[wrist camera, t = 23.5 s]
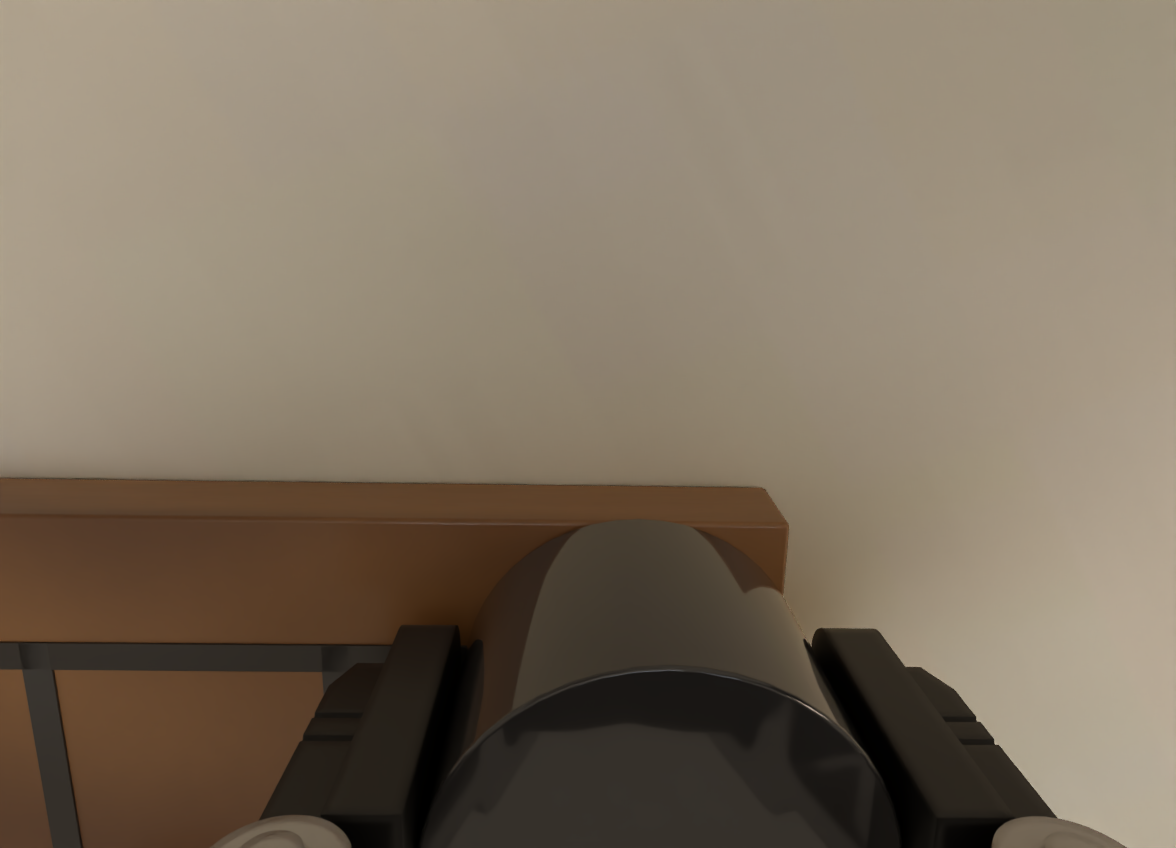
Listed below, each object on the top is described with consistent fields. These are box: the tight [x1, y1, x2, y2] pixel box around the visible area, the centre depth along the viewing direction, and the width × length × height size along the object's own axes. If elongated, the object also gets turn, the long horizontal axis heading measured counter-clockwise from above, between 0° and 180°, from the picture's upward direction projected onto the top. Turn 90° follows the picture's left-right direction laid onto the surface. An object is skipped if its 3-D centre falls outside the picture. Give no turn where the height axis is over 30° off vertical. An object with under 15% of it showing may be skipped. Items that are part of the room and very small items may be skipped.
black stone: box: [418, 519, 903, 848], centre depth 9 cm, size 5×5×4 cm
